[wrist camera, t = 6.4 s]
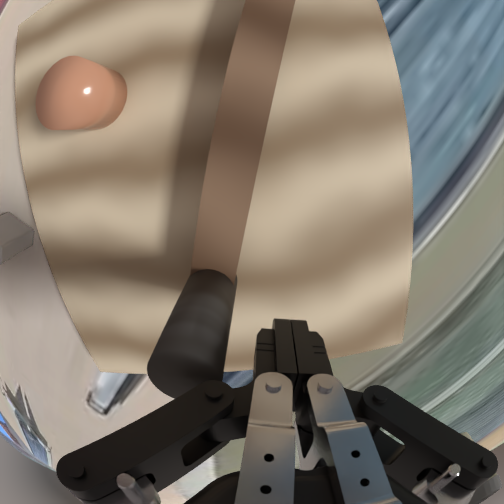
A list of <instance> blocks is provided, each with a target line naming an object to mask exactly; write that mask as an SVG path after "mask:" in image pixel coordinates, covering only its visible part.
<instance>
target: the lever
mask: <svg viewBox="0 0 504 504" xmlns="http://www.w3.org/2000/svg"><path fill="white" fill-rule="evenodd" d="M294 5H295V0H245V4H244V7H243V11H242V14H241V18H240V21H239V25H238V28H237V32H236V36H235V39H234V43H233V47H232V51H231V55H230V59H229V63H228V67H227V71H226V75H225V79H224V84H223V88H222V92H221V97H220V101H219V106H218V110H217V115H216V120H215V125H214V130H213V135H212V140H211V145H210V150H209V155H208V161H207V166H206V172H205V178H204V183H203V189H202V195H201V202H200V208H199V214H198V221H197V228H196V235H195V242H194V249H193V257H192V264H191V272H190V276H189V278H188V280H187V282H186V284H185V286H184V288H183V290H182V292H181V294H180V296H179V298H178V300H177V302H176V304H175V306H174V308H173V310H172V312H171V314H170V316H169V319H168V321H167V323H166V325H165V327H164V329H163V331H162V333H161V335H160V337H159V340H158V342H157V344H156V346H155V348H154V350H153V352H152V355H151V357H150V359H149V361H148V364H147V373H148V376H149V378H150V380H151V382H152V383H153V384H154V385H155V386H156V387H157V388H158V389H159V390H160V391H162V392H163V393H165V394H166V395H168V396H170V397H172V398H175V399H176V398H177V397H179V396H181V395H183V394H184V393H186V392H188V391H189V390H191V389H192V388H194V387H196V386H197V385H199V384H201V383H203V382H205V381H210V380H217V381H221V382H222V380H223V373H224V366H225V360H226V353H227V347H228V340H229V334H230V327H231V321H232V314H233V308H234V302H235V295H236V289H237V275H236V272H237V267H238V262H239V257H240V252H241V247H242V242H243V237H244V233H245V228H246V223H247V218H248V213H249V208H250V204H251V199H252V194H253V189H254V185H255V180H256V175H257V170H258V166H259V161H260V156H261V152H262V147H263V142H264V138H265V133H266V128H267V124H268V119H269V115H270V110H271V106H272V101H273V97H274V92H275V88H276V83H277V79H278V74H279V70H280V65H281V61H282V56H283V52H284V48H285V43H286V39H287V35H288V30H289V26H290V22H291V17H292V13H293V9H294Z"/></svg>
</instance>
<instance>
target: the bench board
mask: <svg viewBox="0 0 504 504" xmlns="http://www.w3.org/2000/svg"><path fill="white" fill-rule="evenodd" d="M244 4H245V0H53V1H51V2H50V3H48V4H47V5H45V6H44V7H43V8H41V9H40V10H38V11H37V12H36V13H34V14H33V15H31V16H30V17H29V18H28V19H26V20H25V21H24V22H22V23H21V24H20V25H19V26H18V34H17V45H16V61H15V101H16V117H17V129H18V138H19V146H20V153H21V159H22V165H23V171H24V176H25V181H26V186H27V191H28V195H29V200H30V204H31V208H32V212H33V215H34V219H35V223H36V226H37V230H38V233H39V236H40V239H41V242H42V246H43V249H44V252H45V254H46V257H47V260H48V263H49V266H50V268H51V271H52V274H53V276H54V279H55V281H56V284H57V286H58V289H59V291H60V294H61V296H62V298H63V301H64V303H65V305H66V307H67V309H68V312H69V314H70V316H71V318H72V320H73V322H74V324H75V326H76V328H77V330H78V332H79V334H80V336H81V338H82V340H83V342H84V344H85V346H86V347H87V349H88V351H89V353H90V355H91V356H92V358H93V360H94V362H95V363H96V365H97V367H98V369H99V370H100V372H112V373H135V374H148V373H147V364H148V361H149V359H150V357H151V355H152V352H153V350H154V348H155V346H156V344H157V342H158V340H159V337H160V335H161V333H162V331H163V329H164V327H165V325H166V323H167V321H168V319H169V316H170V314H171V312H172V310H173V308H174V306H175V304H176V302H177V300H178V298H179V296H180V294H181V292H182V290H183V288H184V286H185V284H186V282H187V280H188V278H189V276H190V272H191V264H192V257H193V249H194V242H195V235H196V228H197V221H198V214H199V208H200V202H201V195H202V189H203V183H204V178H205V172H206V166H207V161H208V155H209V150H210V145H211V140H212V135H213V130H214V125H215V120H216V115H217V110H218V106H219V101H220V97H221V92H222V88H223V84H224V79H225V75H226V71H227V67H228V63H229V59H230V55H231V51H232V47H233V43H234V39H235V36H236V32H237V28H238V25H239V21H240V18H241V14H242V11H243V7H244ZM67 56H79V57H82V58H85V59H87V60H90V61H93V62H95V63H98V64H100V65H103V66H105V67H108V68H110V69H112V70H115V71H117V72H119V73H120V74H121V75H122V76H123V78H124V79H125V82H126V84H127V100H126V103H125V106H124V108H123V110H122V112H121V114H120V115H119V117H118V118H117V119H116V120H115V121H114V122H113V123H112V124H110V125H109V126H107V127H105V128H102V129H98V130H50V129H48V128H46V127H44V126H43V125H42V124H41V122H40V121H39V119H38V116H37V113H36V95H37V91H38V88H39V85H40V83H41V80H42V79H43V77H44V75H45V74H46V72H47V71H48V70H49V69H50V68H51V66H52V65H54V64H55V63H56V62H57V61H59V60H60V59H62V58H65V57H67ZM412 247H413V187H412V169H411V156H410V146H409V136H408V128H407V121H406V114H405V108H404V102H403V96H402V91H401V85H400V81H399V76H398V71H397V67H396V63H395V58H394V54H393V51H392V47H391V43H390V40H389V36H388V33H387V29H386V26H385V23H384V20H383V17H382V14H381V11H380V8H379V5H378V2H377V0H295V5H294V9H293V13H292V17H291V22H290V26H289V30H288V35H287V39H286V43H285V48H284V52H283V56H282V61H281V65H280V70H279V74H278V79H277V83H276V88H275V92H274V97H273V101H272V106H271V110H270V115H269V119H268V124H267V128H266V133H265V138H264V142H263V147H262V152H261V156H260V161H259V166H258V170H257V175H256V180H255V185H254V189H253V194H252V199H251V204H250V208H249V213H248V218H247V223H246V228H245V233H244V237H243V242H242V247H241V252H240V257H239V262H238V267H237V272H236V275H237V289H236V295H235V302H234V308H233V314H232V321H231V327H230V334H229V340H228V347H227V353H226V360H225V366H224V372H229V371H241V370H252V369H253V366H254V354H255V346H256V337H257V334H258V332H259V331H260V330H261V328H266V329H272V324H273V319H274V318H278V319H293V320H306V321H307V324H308V328H309V331H316V332H318V333H319V335H320V336H321V337H322V338H323V340H324V344H325V348H326V351H327V354H328V358H329V359H332V358H337V357H342V356H347V355H352V354H357V353H362V352H367V351H371V350H375V349H380V348H384V347H388V346H392V345H396V344H400V343H402V340H403V334H404V328H405V322H406V314H407V307H408V298H409V289H410V278H411V265H412Z"/></svg>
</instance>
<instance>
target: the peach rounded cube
mask: <svg viewBox="0 0 504 504" xmlns="http://www.w3.org/2000/svg"><path fill="white" fill-rule="evenodd" d="M126 100H127V84H126V82H125V79H124V78H123V76H122V75H121V74H120V73H119V72H117V71H115V70H112V69H110V68H108V67H105V66H103V65H100V64H98V63H95V62H93V61H90V60H87V59H85V58H82V57H79V56H67V57H65V58H62V59H60V60H59V61H57V62H56V63H55V64H54V65H52V66H51V68H50V69H49V70H48V71H47V72H46V74H45V75H44V77H43V79H42V80H41V83H40V85H39V88H38V91H37V95H36V113H37V116H38V119H39V121H40V122H41V124H42V125H43V126H44V127H46V128H48V129H50V130H98V129H102V128H105V127H107V126H109V125H110V124H112V123H113V122H114V121H115V120H116V119H117V118H118V117H119V115H120V114H121V112H122V110H123V108H124V106H125V103H126Z"/></svg>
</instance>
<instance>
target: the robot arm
mask: <svg viewBox="0 0 504 504" xmlns="http://www.w3.org/2000/svg"><path fill="white" fill-rule="evenodd" d="M292 411H293V412H295V414H296V418H295V421H294V425H293V427H292ZM380 427H382V428H383V429H385V430H386V431H388V432H389V433H390V434H392V435H393V436H395V437H396V438H398V439H399V440H401V441H402V442H403V443H404V444H405V445H402V444H400V443H398V442H397V441H395V440H394V439H392V438H391V437H389V436H388V435H387V434H385V433H384V432H382V431H381V430H379V429H380ZM245 437H246V439H245V445H244V451H243V457H242V463H241V469H240V471H237V472H233V473H230V474H227V475H224V476H222V477H220V478H217V479H216V480H214V481H212V482H211V483H210V484H208V485H207V486H206V487H205V488H203V489H202V490H201V491H199V492H198V493H197V494H196V495H194V496H193V497H192V498H190V499H189V500H188V501H186V502H185V503H184V504H469V502H470V500H471V498H472V496H473V494H474V492H475V490H476V489H477V488H478V487H479V486H481V485H482V484H483V483H484V482H486V481H487V480H488V479H489V478H491V477H492V476H493V475H494V474H495V473H496V471H497V468H498V461H497V458H496V456H495V455H494V454H493V453H492V452H491V451H489V450H487V449H486V448H484V447H482V446H480V445H479V444H477V443H475V442H474V441H472V440H470V439H468V438H467V437H465V436H463V435H462V434H460V433H458V432H457V431H455V430H453V429H452V428H450V427H448V426H447V425H445V424H443V423H442V422H440V421H439V420H437V419H435V418H434V417H432V416H430V415H429V414H427V413H426V412H424V411H422V410H421V409H419V408H418V407H416V406H414V405H413V404H411V403H410V402H408V401H407V400H405V399H403V398H402V397H400V396H399V395H397V394H396V393H394V392H393V391H391V390H390V389H388V388H386V387H384V386H379V385H374V386H370V387H368V388H366V389H365V391H364V392H363V393H362V392H357V391H352V390H348V389H346V388H344V387H343V386H342V383H341V382H340V381H339V380H338V379H337V378H336V377H334V376H333V373H332V369H331V365H330V362H329V358H328V354H327V351H326V348H325V344H324V340H323V338H322V337H321V336H320V335H319V333H318V332H316V331H309V328H308V324H307V321H306V320H293V319H278V318H274V319H273V324H272V329H266V328H261V330H260V331H259V332H258V334H257V337H256V346H255V354H254V366H253V381H252V382H251V383H249V384H248V385H246V386H243V387H239V388H231V387H230V386H229V385H228V384H226V383H224V382H221V381H217V380H210V381H205V382H203V383H201V384H199V385H197V386H196V387H194V388H192V389H191V390H189V391H188V392H186V393H184V394H183V395H181V396H179V397H177V398H176V399H174V400H172V401H171V402H169V403H167V404H165V405H164V406H162V407H160V408H158V409H157V410H155V411H153V412H151V413H149V414H148V415H146V416H144V417H142V418H140V419H138V420H137V421H135V422H133V423H131V424H129V425H127V426H125V427H123V428H121V429H119V430H117V431H115V432H113V433H111V434H109V435H107V436H105V437H103V438H101V439H99V440H97V441H95V442H93V443H91V444H89V445H87V446H84V447H82V448H80V449H78V450H76V451H73V452H71V453H69V454H66V455H65V456H63V457H62V458H61V459H60V460H59V462H58V464H57V468H56V472H57V476H58V478H59V480H60V482H61V483H62V484H63V485H64V486H65V487H66V488H68V489H69V490H70V492H71V493H72V494H73V495H74V496H75V497H77V498H78V499H79V500H80V501H81V502H83V503H84V504H161V500H160V497H159V495H158V492H159V491H161V490H162V489H164V488H166V487H167V486H169V485H170V484H172V483H173V482H175V481H177V480H178V479H180V478H181V477H183V476H184V475H186V474H187V473H188V472H190V471H191V470H193V469H194V468H196V467H197V466H198V465H200V464H201V463H203V462H204V461H205V460H207V459H208V458H209V457H211V456H212V455H214V454H215V453H216V452H217V451H219V450H220V449H221V448H223V447H224V446H225V445H227V444H228V443H229V441H230V440H234V439H240V438H245ZM295 438H296V444H297V449H298V455H299V461H300V467H299V469H295Z"/></svg>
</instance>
